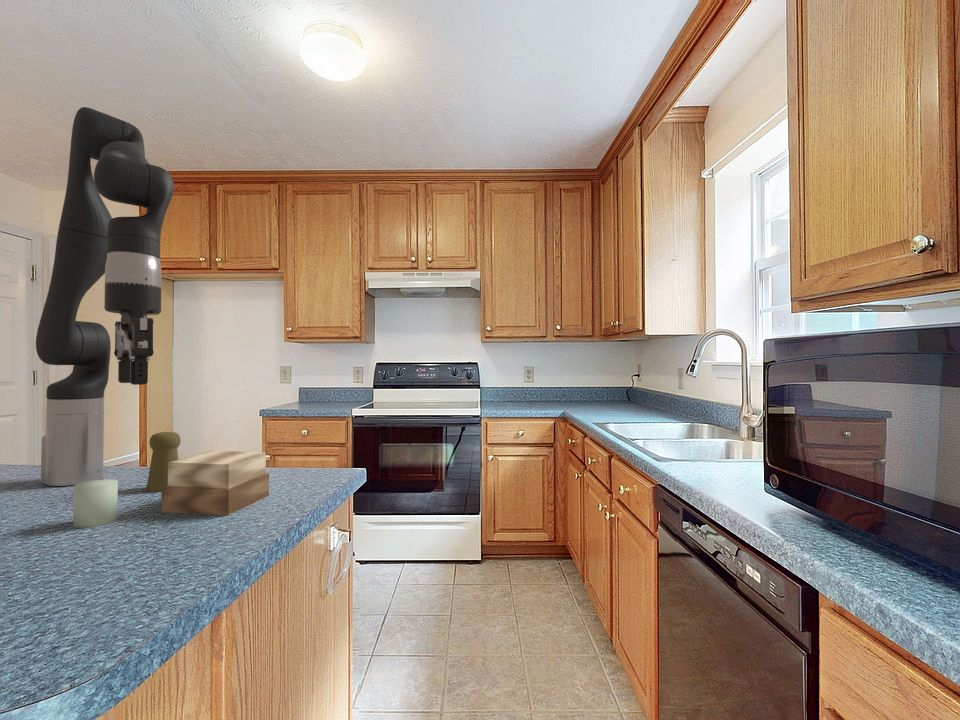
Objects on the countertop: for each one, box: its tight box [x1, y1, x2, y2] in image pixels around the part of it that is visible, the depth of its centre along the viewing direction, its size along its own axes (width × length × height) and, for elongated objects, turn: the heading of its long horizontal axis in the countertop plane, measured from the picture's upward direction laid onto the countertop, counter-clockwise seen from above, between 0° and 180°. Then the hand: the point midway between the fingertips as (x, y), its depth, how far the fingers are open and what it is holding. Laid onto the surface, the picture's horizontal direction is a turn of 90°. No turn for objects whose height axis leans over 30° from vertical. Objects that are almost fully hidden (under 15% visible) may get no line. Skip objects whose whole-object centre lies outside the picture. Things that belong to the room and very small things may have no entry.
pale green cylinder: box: [72, 478, 119, 529], centre depth 76 cm, size 5×5×6 cm
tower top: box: [168, 450, 267, 489], centre depth 86 cm, size 11×11×4 cm
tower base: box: [161, 473, 270, 516], centre depth 86 cm, size 12×12×4 cm
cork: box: [145, 431, 181, 493], centre depth 96 cm, size 6×6×11 cm
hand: (132, 383), depth 79 cm, fingers open, 8 cm apart
